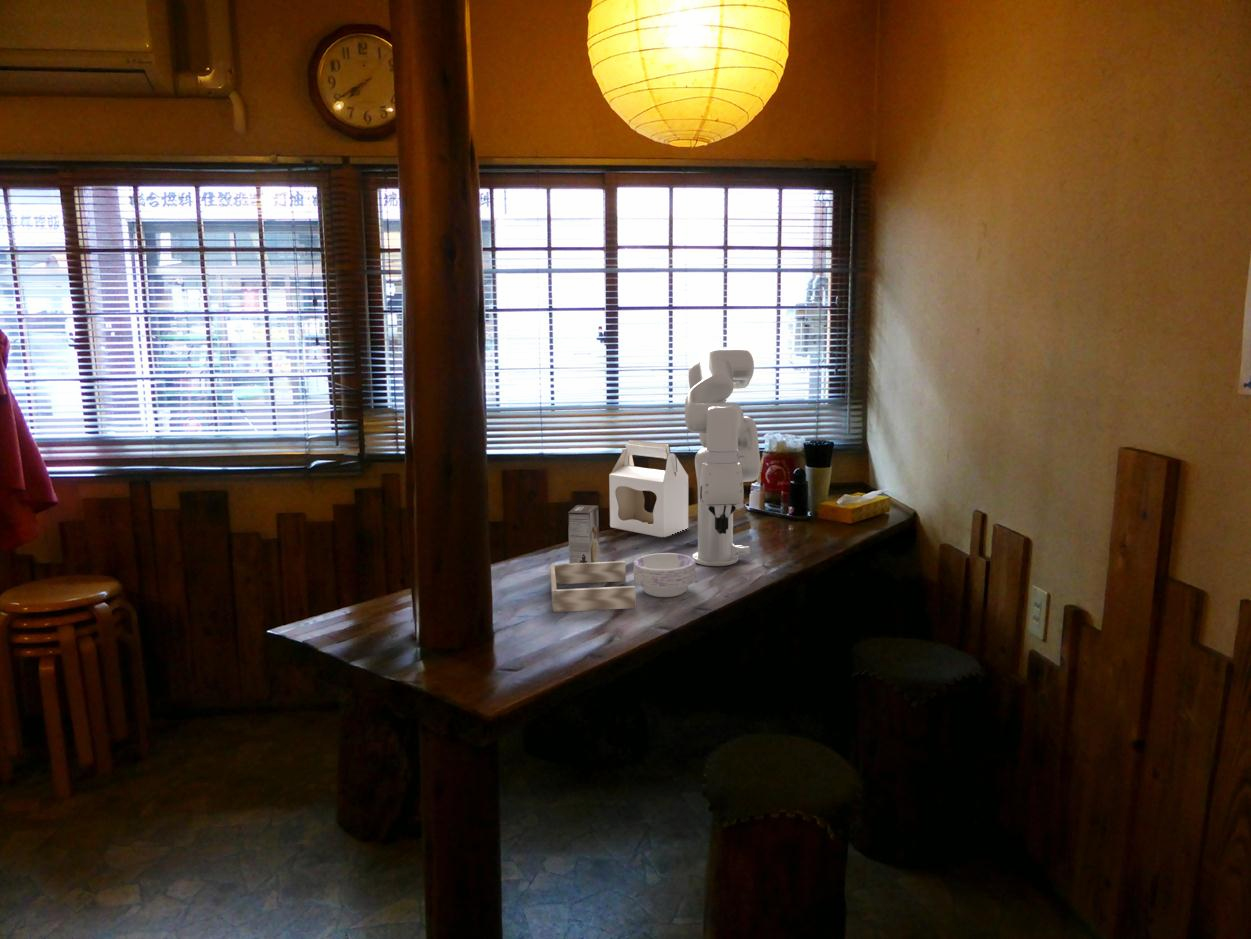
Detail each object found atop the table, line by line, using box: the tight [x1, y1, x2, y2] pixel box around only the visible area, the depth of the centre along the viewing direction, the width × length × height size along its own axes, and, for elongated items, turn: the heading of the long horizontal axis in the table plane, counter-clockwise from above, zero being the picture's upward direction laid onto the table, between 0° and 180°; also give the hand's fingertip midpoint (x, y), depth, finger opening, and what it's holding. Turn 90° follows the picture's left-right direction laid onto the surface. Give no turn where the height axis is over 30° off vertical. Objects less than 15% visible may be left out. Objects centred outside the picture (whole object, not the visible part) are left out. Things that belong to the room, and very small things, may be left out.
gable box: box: [608, 439, 689, 538], centre depth 256 cm, size 22×13×28 cm, turn 51°
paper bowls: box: [632, 552, 697, 598], centre depth 197 cm, size 15×15×8 cm
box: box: [549, 560, 637, 613], centre depth 195 cm, size 19×21×5 cm
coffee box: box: [567, 504, 601, 564], centre depth 217 cm, size 9×6×16 cm
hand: (721, 532), depth 196 cm, fingers closed
